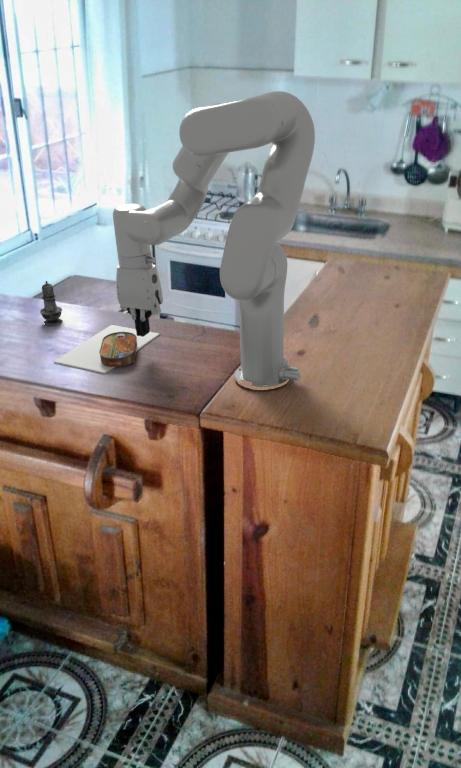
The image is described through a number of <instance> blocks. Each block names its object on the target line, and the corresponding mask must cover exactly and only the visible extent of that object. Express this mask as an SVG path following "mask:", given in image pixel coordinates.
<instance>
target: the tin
mask: <svg viewBox="0 0 461 768" xmlns="http://www.w3.org/2000/svg"><path fill="white" fill-rule="evenodd" d="M136 349H137V337H136V335H135V334H133V333H130V332H116V333H111V334H109V335H107V336H105V337H104V338H103V340H102V344H101V348H100V352H99V353H100V358H101V362H102V364H104V365H105V366H109V367H111V366H116V367H125V366H128V365H131V364H133V363H134V361H135V359H136V352H137V351H136Z"/></svg>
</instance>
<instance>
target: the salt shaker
mask: <svg viewBox="0 0 461 768" xmlns="http://www.w3.org/2000/svg"><path fill="white" fill-rule="evenodd" d="M41 290H42V297H41V299H42V300H43V308H41V309H40V311H39V313H40V314H41V316H42V318H43V319H44V321H43V322H44V323H45V325H46V327H57V326H60V325H62V324H63V322H64V321H63V319H62V318H61V315H62V311H63V308H62V307H60V306H58V305H57V303H56V297H57V296H56V295H55V292H54V286H53V284H51V283H49V282H48V281H47V280H45V282H44V284H42V286H41ZM45 325H44V326H45Z"/></svg>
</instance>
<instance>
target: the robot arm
mask: <svg viewBox="0 0 461 768" xmlns="http://www.w3.org/2000/svg"><path fill="white" fill-rule="evenodd" d="M311 115H312V114H311V113H310V111H309V110H308V107H306V105H305V104H304V102H303V101H302V100H301V99H299V98H298V97H297V96H295V95H293V94H292V93H290V92H287V91H280V90H279V91H269V92H266V93H262V94H258V95H255V96H253V97H249V98H245V99H239V100H235V101H231V102H227V103H222V102H221V103H220V102H217V103H216V102H215V103H214V102H213V103H210V104H206V105H203V106H202V105H201V106H198V107H196V108H193V109H191V110H189V111H188V112H187V113H186V114H185V115H184V117H183V119H182V120H181V122H180V125H179V131H178V132H179V139H180V142H181V143H180V144H181V145H182V146H181V147H180V149H179V151H178V153H177V154H176V156H175V157H174V159H173V161H172V170H173V173H174V174H175V176H176V177H177V178H178V181H177V184H176V185H175V187H174V189H173V190H172V192H171V194H170V195H169V197H168V199H166V201H165V202H163V203H161V204H159V205H156V206H154V207H151V208H149V209H146V207H145V206H144V205H142V204H139V203H124V204H120V205H118V206H116V207H114V209H113V211H112V219H113V220H112V221H113V226H114V227H113V229H114V237H115V245H116V253H117V261H118V265H117V268H116V278H115V279H116V281H115V282H116V283H115V284H116V295H117V297H116V298H117V302H118V304H119V305H120V306H119V308H120V309H121V310H124V311H126V312H128V314H129V315H131V319H132V320H133V321H134V324H135V325H134V327H135V328H134V329H136V333H137V336H141V337H144V336H145V335H146V334H148V333H149V332H151V331H150V329H151V328H150V318H151V316H153V315H159V314H161V312H162V308H161V305H163V302H164V300H163V291H162V290H163V289H162V283H161V279H160V276H159V272H158V269H157V267H156V264H155V263H156V260H157V259H156V257H153V255H152V251H151V246H159V245H162V244H164V243H165V242H168V241H169V240H171V239H172V238H174V237H176V236H179V235H180V234H182V233H183V232H185V231H186V230H187V229H188V228H189V227H190V226H191V224H192V223H193V221H194V219H195V218H196V216H197V215H198V213H200V211H201V209H202V207H203V206H204V204H205V201H206V198H207V195H208V192H209V184H210V183H211V181H212V180H213V179H214V177H215V175H216V173H217V172H218V170H219V169H220V167H221V165H222V164H223V162H224V160H225V159H226V158H227V156H228V155H229V154H230V153H233V152H235V153H236V152H239V151H247V150H252V149H257V148H261V147H264V146H267V145H269V144H271V146H270V147H271V148H270V150H269V153H268V155H267V158H266V160H265V163H264V165H263V168H262V172H261V177H260V182H259V184H258V188H257V191H256V193H255V195H254V196H253V198H251V199H249V200H247V201H245V202H244V203H243V204H241V205H240V206H239V207H238V209H236V211H235V213H234V214H233V216H232V218H231V220H230V224H229V227H228V231H227V236H226V240H225V243H224V244H225V245H224V249H223V253H222V257H221V262H220V267H219V279H220V284H221V287H222V288H223V291H224V292H225V293H226V294H227V295H228V296H229V298H231V299H234V300H236V301H239V302H238V303H239V308H238V311H239V313H238V314H239V342H240V343H239V344H240V345H239V348H240V366H239V367H238V368H237V369H236V370H235V371H234V374H233V375H234V377H235V379H237V381H239V382H241V381H240V380H246V381H249V382H252V385H251V386H255V387H271V386H276V385H279V384H282V383H284V382H286V381H287V380H288V379H290V381H296V382H299V381H300V379H301V371H300V368H299V367H295V366H290V365H289V362H288V361H289V360H288V359H289V358H286V357H285V356H284V349H285V348H284V337H285V335H284V334H285V333H284V332H285V331H284V327H285V326H284V324H285V323H284V321H285V319H284V315H285V309H284V308H285V289H286V281H287V276H288V258H287V254H286V252H285V250H284V248H283V246H282V245H281V244H280V243H278V242H279V241H280V240H282V239H283V238H285V237H286V236H287V235H288V234H289V233H290V232H291V231H292V229H293V228H294V224H295V222H296V218H297V215H298V210H299V207H300V203H301V200H302V197H303V193H304V190H305V184H306V180H307V177H308V173H309V170H310V166H311V162H312V158H313V155H314V150H315V144H316V143H315V142H316V133H315V131H316V130H315V124H314V122H313V121H314V120H313V118H312V116H311ZM284 357H285V358H284ZM234 377H233V378H234ZM286 378H287V379H286ZM235 379H234V380H235ZM241 383H242V382H241ZM245 383H246V382H245ZM263 385H267V386H263Z"/></svg>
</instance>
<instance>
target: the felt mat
mask: <svg viewBox="0 0 461 768" xmlns="http://www.w3.org/2000/svg"><path fill="white" fill-rule="evenodd" d="M116 332H130V333H133V334H135V335H136V337H137V349H136V352H138V351H140V349H142V348H144V346H146V345H147V344H149V343H150V342H152V341H153V340H154V339H156V338H157V337H159V336H160V332H159V333H158V332H152V331H149V333H148V334H146V335H145V336H144V337H141V336H137V333H136V328H131V327H125V326H120V325H115V324H114V325H113V324H111V325H108V326H107V327H106V328H104V329H103V330H101V331H99V332H98V333H96V334H95V335H93V336H91V337H90V338H89V339H86V340H85V341H83V342H82V343H80V344H79V345H77V346H75V348H73V349H71V350H69V351H68V352H66V353H64V354H63V355H62V356H60V357H58V358H56V359H55V360H53V363H54V364H57V365H63V366H67V367H70V368H75V369H76V368H77V369H81V370H85V371H89V372H90V371H91V372H96V373H100V374H107V373H109V372H110V371H111V370H114V368H116V367H117V366H111V367H109V366H105V365H104V364H102V362H101V358H100V353H99V352H100V348H101V344H102V340H103V338H104V337H105V336H107V335H109V334H111V333H116Z"/></svg>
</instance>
